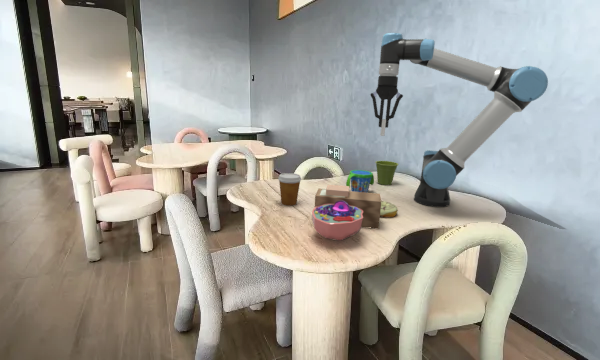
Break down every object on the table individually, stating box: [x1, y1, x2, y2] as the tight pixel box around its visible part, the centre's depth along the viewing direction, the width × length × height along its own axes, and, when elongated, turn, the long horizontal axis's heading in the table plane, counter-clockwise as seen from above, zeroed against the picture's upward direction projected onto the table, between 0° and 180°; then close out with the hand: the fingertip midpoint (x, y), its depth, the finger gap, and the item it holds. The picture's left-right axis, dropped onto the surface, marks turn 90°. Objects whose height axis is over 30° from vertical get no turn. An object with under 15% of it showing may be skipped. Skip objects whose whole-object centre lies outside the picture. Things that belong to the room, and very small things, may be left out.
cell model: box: [311, 201, 363, 241], centre depth 114 cm, size 17×20×11 cm
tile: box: [325, 184, 350, 197], centre depth 127 cm, size 2×7×8 cm
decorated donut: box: [380, 200, 399, 218], centre depth 139 cm, size 11×12×4 cm
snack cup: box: [345, 169, 375, 193], centre depth 164 cm, size 16×10×10 cm
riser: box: [314, 188, 382, 229], centre depth 128 cm, size 23×10×10 cm, turn 80°
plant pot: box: [374, 160, 399, 186], centre depth 183 cm, size 12×12×11 cm
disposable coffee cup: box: [277, 172, 302, 207], centre depth 145 cm, size 10×10×12 cm
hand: (382, 135), depth 144 cm, fingers closed
